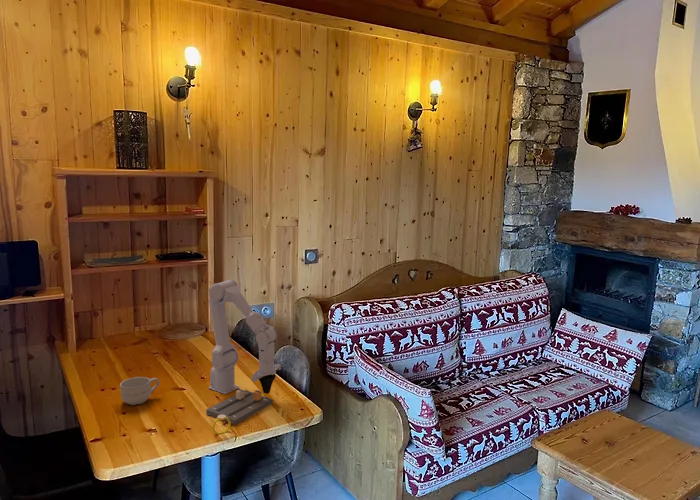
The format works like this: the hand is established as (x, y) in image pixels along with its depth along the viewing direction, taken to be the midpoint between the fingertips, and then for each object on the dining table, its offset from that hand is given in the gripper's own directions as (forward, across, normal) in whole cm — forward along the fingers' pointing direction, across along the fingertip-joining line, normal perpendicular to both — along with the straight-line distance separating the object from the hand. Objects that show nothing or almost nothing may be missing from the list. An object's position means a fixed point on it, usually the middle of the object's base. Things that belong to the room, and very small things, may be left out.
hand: (266, 392), depth 200 cm
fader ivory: (+1, -8, +6) cm, 10 cm away
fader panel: (+3, -11, +3) cm, 12 cm away
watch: (+3, -27, -4) cm, 27 cm away
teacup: (+3, -28, +38) cm, 47 cm away
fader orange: (+1, -5, 0) cm, 5 cm away
